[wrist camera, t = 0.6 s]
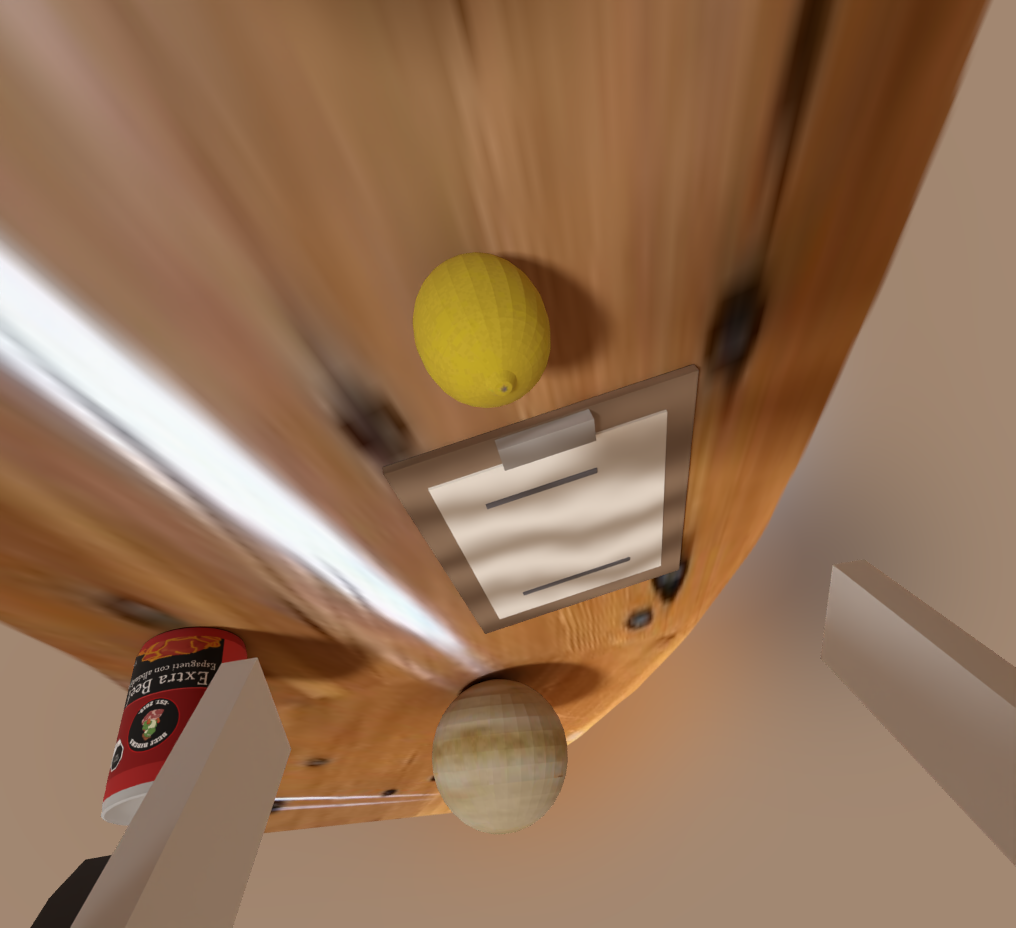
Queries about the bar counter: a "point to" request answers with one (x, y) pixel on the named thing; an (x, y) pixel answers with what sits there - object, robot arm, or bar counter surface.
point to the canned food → (161, 709)
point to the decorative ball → (499, 756)
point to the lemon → (481, 330)
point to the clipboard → (558, 501)
